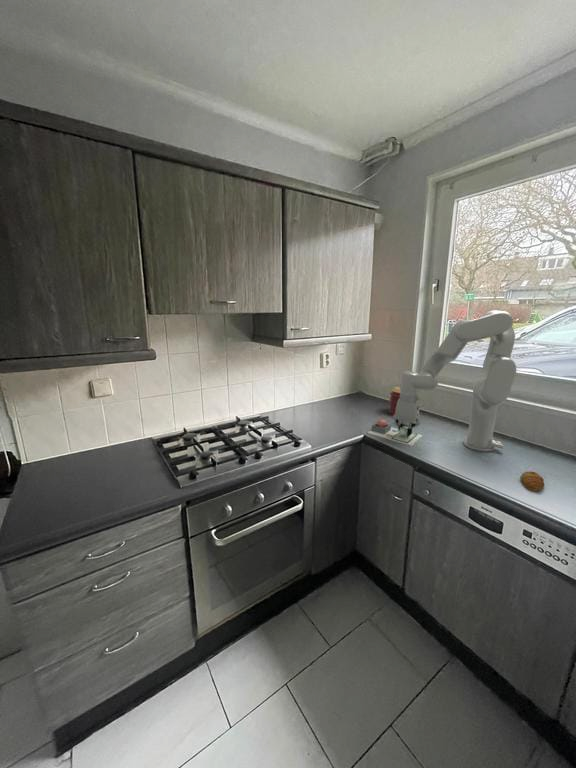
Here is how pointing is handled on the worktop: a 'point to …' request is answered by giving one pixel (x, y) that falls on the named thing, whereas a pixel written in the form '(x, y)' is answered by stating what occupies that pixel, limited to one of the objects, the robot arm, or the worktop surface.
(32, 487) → the worktop surface
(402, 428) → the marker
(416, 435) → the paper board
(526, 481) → the pastry
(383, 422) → the button
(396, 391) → the canister
